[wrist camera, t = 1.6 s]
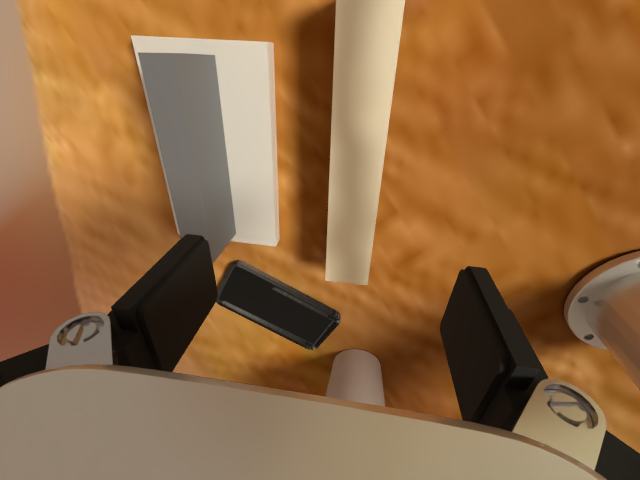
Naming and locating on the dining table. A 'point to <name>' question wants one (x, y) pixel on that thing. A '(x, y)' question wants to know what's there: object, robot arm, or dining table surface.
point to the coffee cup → (356, 378)
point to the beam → (359, 130)
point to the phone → (276, 305)
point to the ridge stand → (215, 135)
